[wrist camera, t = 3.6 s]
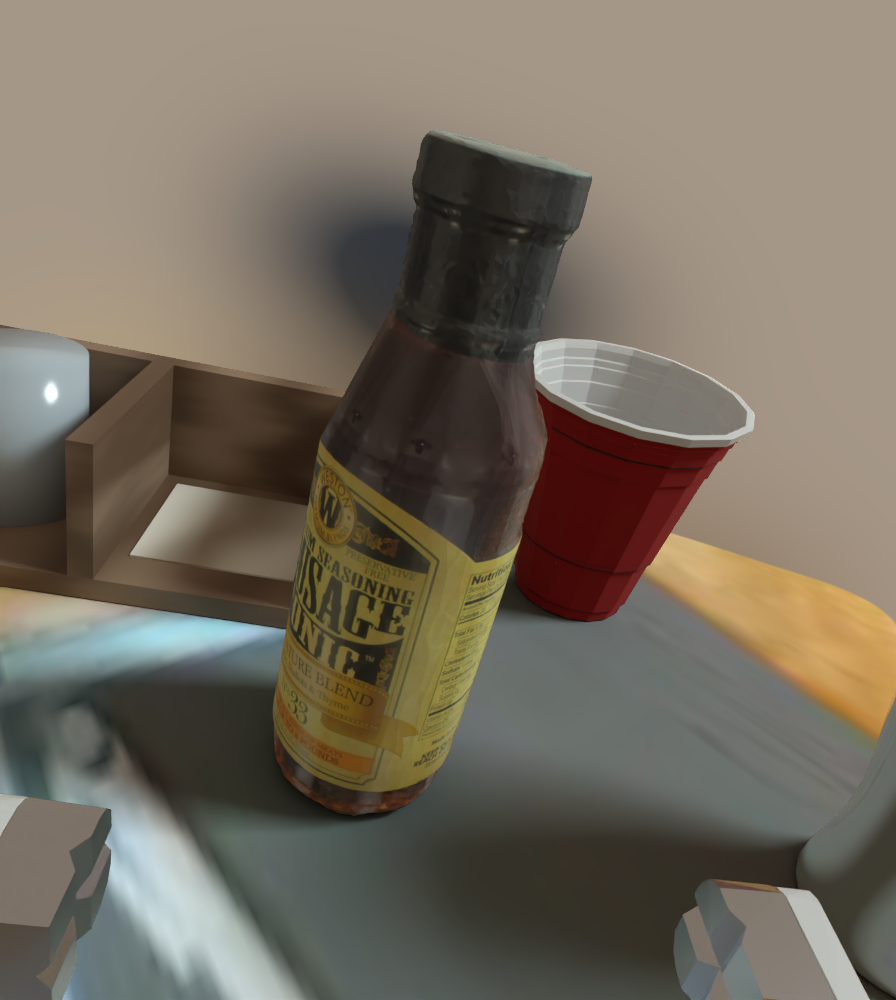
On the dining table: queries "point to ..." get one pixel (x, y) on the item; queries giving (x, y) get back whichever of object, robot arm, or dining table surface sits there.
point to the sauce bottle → (424, 482)
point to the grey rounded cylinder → (38, 422)
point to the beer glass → (861, 867)
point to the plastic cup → (615, 468)
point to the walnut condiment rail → (180, 490)
